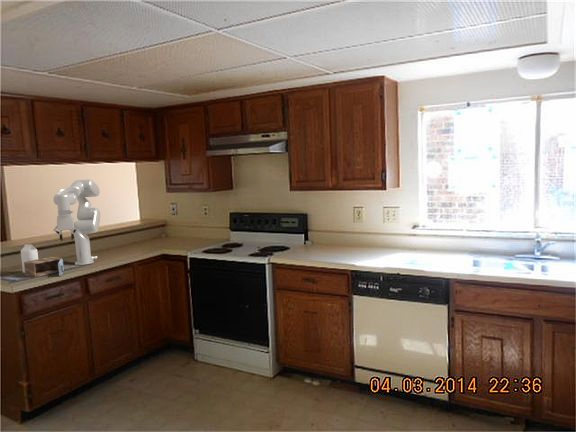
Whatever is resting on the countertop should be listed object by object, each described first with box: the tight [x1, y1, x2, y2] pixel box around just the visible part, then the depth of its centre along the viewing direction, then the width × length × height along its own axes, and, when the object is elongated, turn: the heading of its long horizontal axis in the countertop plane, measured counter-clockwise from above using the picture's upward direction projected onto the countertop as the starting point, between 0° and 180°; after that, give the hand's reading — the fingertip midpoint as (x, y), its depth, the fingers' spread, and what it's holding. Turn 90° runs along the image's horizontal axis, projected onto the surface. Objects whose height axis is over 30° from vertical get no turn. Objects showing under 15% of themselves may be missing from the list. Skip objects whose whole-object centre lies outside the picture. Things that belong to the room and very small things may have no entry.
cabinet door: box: [58, 258, 65, 277], centre depth 291 cm, size 18×2×8 cm, turn 23°
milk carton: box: [20, 243, 39, 274], centre depth 302 cm, size 7×7×19 cm
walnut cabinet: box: [24, 256, 62, 278], centre depth 296 cm, size 18×12×9 cm, turn 148°
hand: (67, 239), depth 295 cm, fingers open, 5 cm apart
